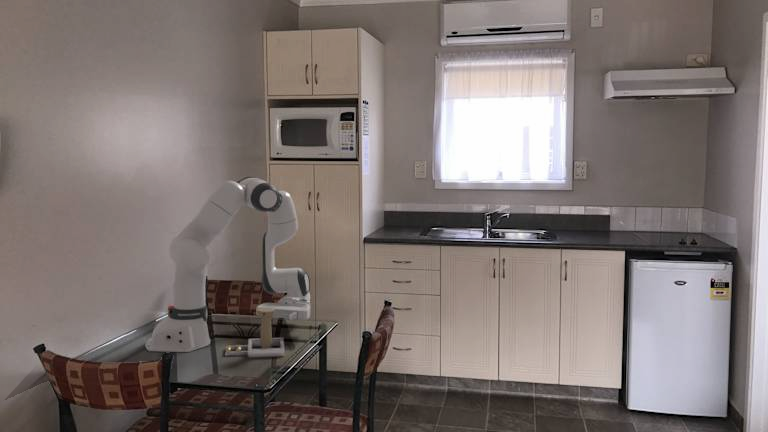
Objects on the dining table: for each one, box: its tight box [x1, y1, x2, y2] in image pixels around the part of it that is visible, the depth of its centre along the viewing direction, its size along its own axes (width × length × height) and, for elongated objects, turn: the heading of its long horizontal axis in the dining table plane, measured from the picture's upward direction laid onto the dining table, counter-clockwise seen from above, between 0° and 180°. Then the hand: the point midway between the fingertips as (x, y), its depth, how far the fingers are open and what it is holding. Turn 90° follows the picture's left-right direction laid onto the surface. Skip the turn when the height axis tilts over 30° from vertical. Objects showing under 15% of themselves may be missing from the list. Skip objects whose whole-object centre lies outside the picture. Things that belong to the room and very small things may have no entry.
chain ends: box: [224, 337, 285, 359], centre depth 232 cm, size 20×12×3 cm, turn 101°
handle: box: [256, 308, 275, 349], centre depth 232 cm, size 5×6×15 cm
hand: (276, 317), depth 241 cm, fingers open, 8 cm apart
